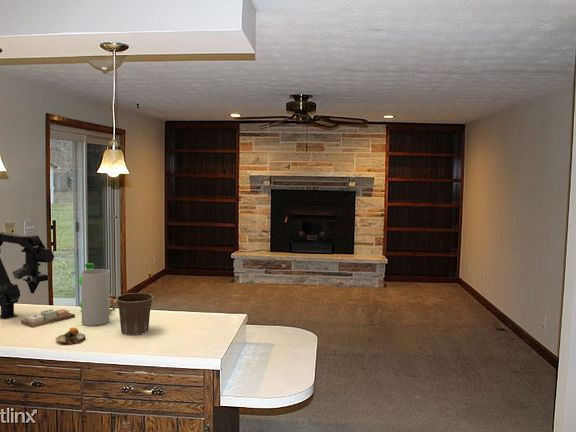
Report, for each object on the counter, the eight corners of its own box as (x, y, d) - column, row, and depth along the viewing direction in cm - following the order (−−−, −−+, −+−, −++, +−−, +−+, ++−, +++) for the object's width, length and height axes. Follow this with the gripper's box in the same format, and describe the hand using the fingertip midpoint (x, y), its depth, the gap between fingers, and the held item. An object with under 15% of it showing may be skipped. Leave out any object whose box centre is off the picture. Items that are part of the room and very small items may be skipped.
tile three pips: (53, 317, 247) (53, 310, 246) (63, 314, 251) (62, 308, 250) (59, 318, 244) (59, 312, 244) (68, 316, 248) (68, 310, 248)
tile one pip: (27, 323, 236) (27, 316, 236) (37, 320, 240) (37, 314, 240) (33, 325, 233) (33, 318, 233) (43, 322, 237) (43, 316, 237)
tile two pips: (40, 317, 241) (40, 311, 241) (50, 315, 245) (50, 308, 245) (46, 319, 238) (46, 312, 238) (56, 317, 242) (56, 310, 242)
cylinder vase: (104, 317, 249) (104, 268, 247) (112, 323, 240) (112, 272, 237) (78, 321, 242) (78, 270, 240) (86, 328, 232) (85, 275, 230)
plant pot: (142, 338, 220) (142, 302, 218) (109, 335, 223) (109, 299, 222) (158, 327, 236) (159, 294, 234) (127, 324, 239) (127, 291, 238)
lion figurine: (110, 316, 252) (110, 298, 252) (99, 316, 251) (99, 298, 251) (115, 308, 267) (115, 291, 266) (105, 308, 266) (105, 291, 265)
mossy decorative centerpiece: (66, 335, 222) (66, 319, 221) (91, 337, 220) (91, 321, 219) (49, 344, 210) (49, 327, 209) (75, 347, 208) (74, 329, 207)
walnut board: (21, 323, 236) (21, 320, 236) (63, 313, 254) (63, 310, 253) (32, 327, 230) (32, 324, 230) (74, 317, 248) (74, 314, 248)
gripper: (4, 261, 239) (5, 293, 240) (25, 266, 228) (26, 299, 229) (27, 258, 248) (28, 289, 249) (49, 263, 237) (49, 295, 239)
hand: (32, 293), depth 241 cm, fingers closed
